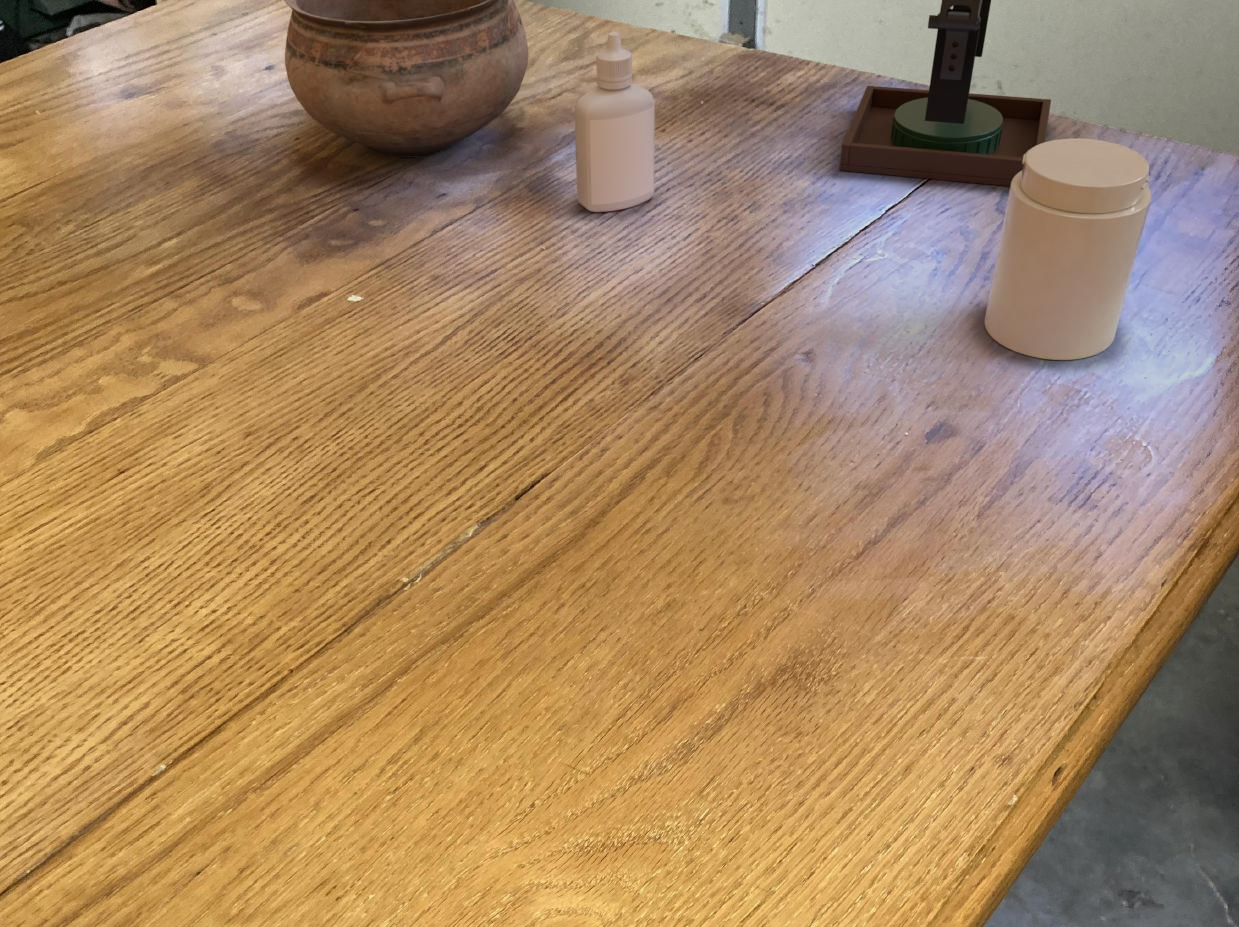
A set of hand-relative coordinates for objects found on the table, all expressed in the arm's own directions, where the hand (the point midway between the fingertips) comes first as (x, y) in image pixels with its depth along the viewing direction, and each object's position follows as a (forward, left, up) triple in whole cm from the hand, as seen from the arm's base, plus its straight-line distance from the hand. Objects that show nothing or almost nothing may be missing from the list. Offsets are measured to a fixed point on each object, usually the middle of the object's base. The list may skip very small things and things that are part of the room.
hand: (954, 86), depth 99 cm
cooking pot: (+41, +8, -5) cm, 42 cm away
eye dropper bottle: (+22, +15, -5) cm, 27 cm away
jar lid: (0, 0, -3) cm, 3 cm away
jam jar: (-9, +26, -5) cm, 28 cm away
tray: (0, 0, -5) cm, 5 cm away
